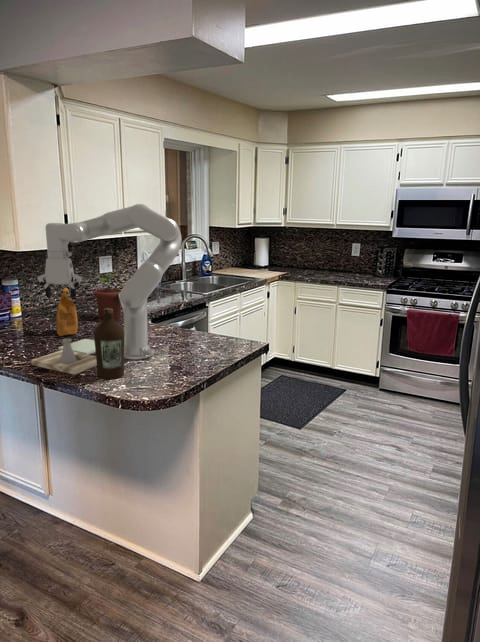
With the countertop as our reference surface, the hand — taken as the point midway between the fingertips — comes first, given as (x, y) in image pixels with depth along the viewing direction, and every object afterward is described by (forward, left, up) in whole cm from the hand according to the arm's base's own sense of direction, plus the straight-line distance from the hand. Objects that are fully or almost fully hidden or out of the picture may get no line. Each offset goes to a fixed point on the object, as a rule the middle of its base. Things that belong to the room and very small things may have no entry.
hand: (61, 298), depth 184 cm
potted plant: (+28, -61, -25) cm, 71 cm away
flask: (-8, +6, -25) cm, 27 cm away
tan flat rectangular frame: (-8, +6, -25) cm, 27 cm away
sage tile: (+2, -14, -25) cm, 28 cm away
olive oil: (-31, +8, -25) cm, 41 cm away
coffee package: (+27, -28, -25) cm, 46 cm away
